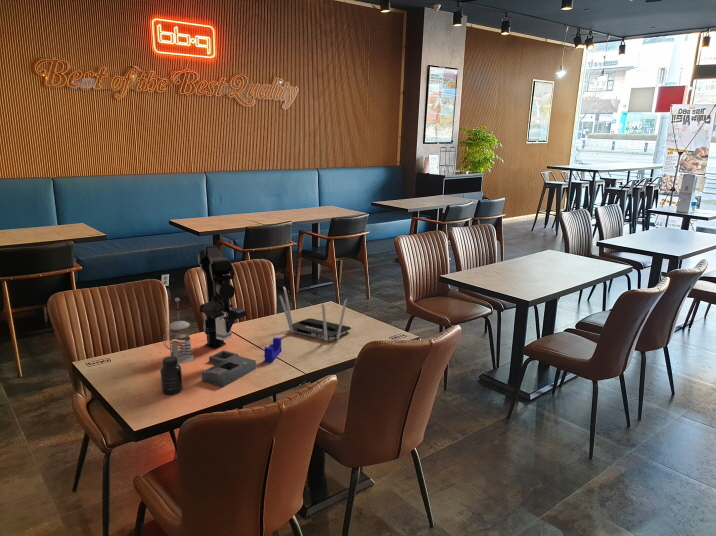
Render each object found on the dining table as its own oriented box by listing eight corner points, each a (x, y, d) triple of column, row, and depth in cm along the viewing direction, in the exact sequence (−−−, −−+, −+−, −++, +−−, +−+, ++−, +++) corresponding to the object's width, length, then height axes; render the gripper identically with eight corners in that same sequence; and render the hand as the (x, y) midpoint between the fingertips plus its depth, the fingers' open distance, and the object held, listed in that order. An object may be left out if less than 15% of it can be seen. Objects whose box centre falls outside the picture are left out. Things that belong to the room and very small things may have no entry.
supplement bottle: (164, 386, 195) (162, 354, 192) (184, 386, 196) (182, 354, 193) (159, 395, 189) (157, 362, 186) (180, 395, 189) (178, 362, 186)
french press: (199, 358, 220) (195, 297, 214) (172, 366, 212) (167, 304, 206) (185, 351, 226) (181, 292, 220) (159, 359, 218) (154, 298, 212)
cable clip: (271, 350, 229) (270, 337, 228) (281, 351, 228) (281, 338, 227) (261, 362, 217) (260, 348, 216) (272, 363, 217) (271, 348, 215)
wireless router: (362, 334, 249) (362, 291, 244) (333, 350, 230) (333, 304, 225) (301, 320, 266) (300, 280, 261) (270, 334, 246) (269, 291, 242)
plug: (216, 338, 213) (215, 317, 211) (223, 335, 216) (222, 314, 214) (224, 340, 211) (223, 319, 209) (231, 337, 214) (230, 316, 212)
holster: (209, 361, 217) (208, 356, 216) (223, 354, 224) (223, 350, 223) (224, 366, 213) (224, 361, 213) (238, 358, 220) (238, 354, 219)
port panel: (202, 380, 200) (201, 370, 199) (235, 363, 215) (235, 354, 215) (222, 387, 195) (222, 377, 195) (255, 369, 211) (255, 359, 210)
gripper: (187, 294, 207) (190, 333, 210) (225, 301, 198) (227, 342, 201) (209, 287, 216) (211, 325, 220) (246, 294, 207) (248, 333, 211)
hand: (223, 331), depth 213 cm, fingers closed on plug, 4 cm apart
